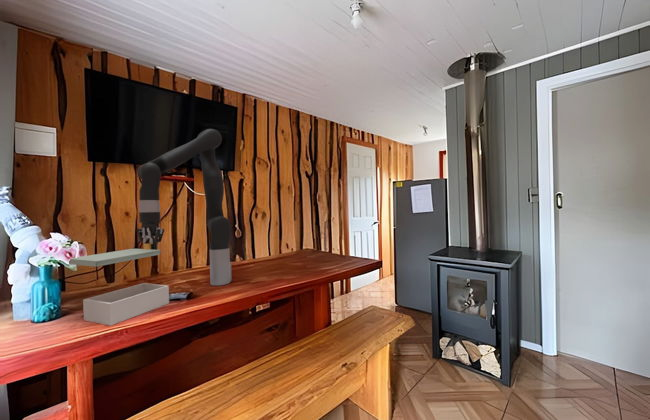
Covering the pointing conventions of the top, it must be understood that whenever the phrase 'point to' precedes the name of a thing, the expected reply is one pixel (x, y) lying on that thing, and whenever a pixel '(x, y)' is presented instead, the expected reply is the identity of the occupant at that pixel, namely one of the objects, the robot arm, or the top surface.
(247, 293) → the top surface
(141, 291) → the tub
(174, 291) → the top surface
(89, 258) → the lid
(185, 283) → the top surface
